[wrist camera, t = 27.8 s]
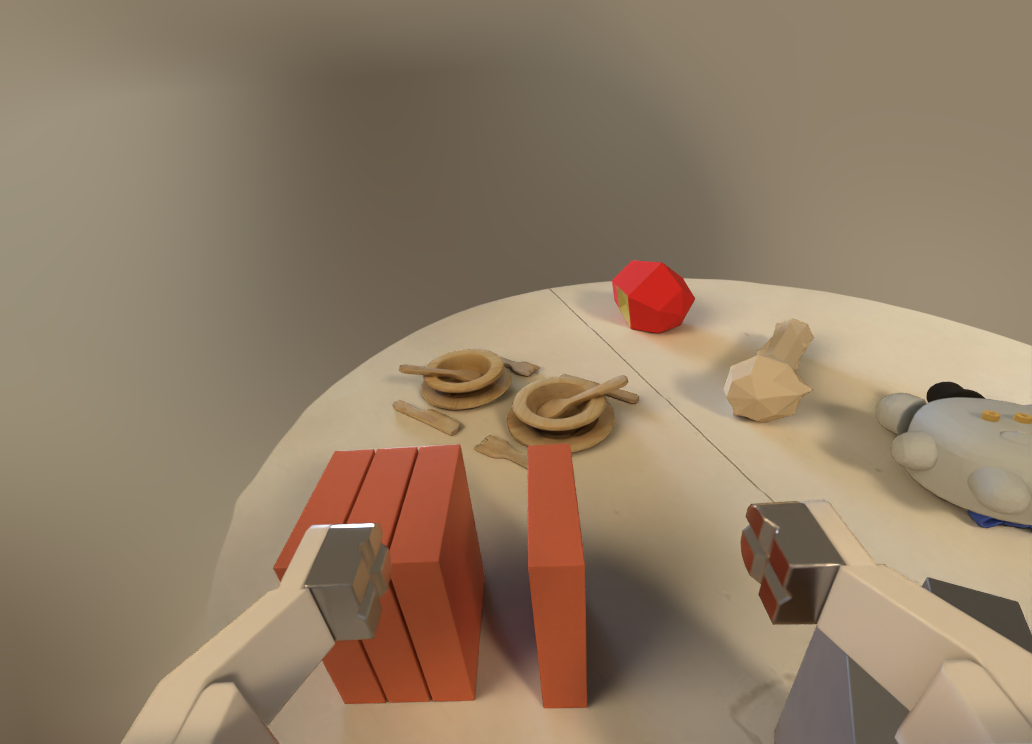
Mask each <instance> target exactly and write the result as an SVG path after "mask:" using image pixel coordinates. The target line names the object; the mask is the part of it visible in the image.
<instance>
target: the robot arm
mask: <svg viewBox="0 0 1032 744" xmlns="http://www.w3.org/2000/svg"><path fill="white" fill-rule="evenodd" d="M746 518H747V520H748V522H749V524H750V525H749V526H747V527H746V528H745V529H744V530H743V531H742V536H741V552H742V557H743V560H744V564H745V566H746V568H747V571H748V573H749V575H750V576H751V577H752V578H754V579H755V580H756V581H758V582H759V583H760V584H761V587H760V591H759V597H760V599H761V601H762V603H763V605H764V607H765V609H766V611H767V613H768V615H769V618H770V620H771V622H772V624H773V625H777V624H817V625H816V627H817V628H818V629H819V630H821V631H822V632H823V633H824V634H825V635H826V636H827V637H828V638H829V639H831V640H832V641H833V642H834V643H835V644H836V645H837V646H838V647H839V648H841V649H842V650H843V651H844V652H845V653H846V654H847V655H848V656H849V657H851V658H852V659H853V660H854V661H855V662H856V663H857V664H858V665H859V666H860V667H862V668H863V669H864V670H865V671H866V672H867V673H868V674H869V675H870V676H872V677H873V678H874V679H875V680H876V681H877V682H878V683H879V684H880V685H882V686H883V687H884V688H885V689H886V690H887V691H888V692H889V693H890V694H891V695H893V696H894V697H895V698H896V699H897V700H898V701H899V702H900V703H901V704H903V705H904V706H905V707H906V708H907V709H908V710H909V711H910V712H909V714H908V715H907V717H906V718H905V720H904V721H903V723H902V724H901V726H900V727H899V729H898V731H897V733H896V735H895V739H896V740H897V742H898V744H1032V653H1030V652H1028V651H1027V650H1025V649H1023V648H1022V647H1020V646H1018V645H1017V644H1015V643H1014V642H1012V641H1010V640H1009V639H1007V638H1005V637H1004V636H1002V635H1000V634H999V633H997V632H995V631H994V630H992V629H990V628H989V627H987V626H985V625H984V624H982V623H980V622H979V621H977V620H976V619H974V618H972V617H971V616H969V615H967V614H966V613H964V612H962V611H961V610H959V609H957V608H956V607H954V606H952V605H951V604H949V603H947V602H946V601H944V600H943V599H941V598H939V597H938V596H936V595H934V594H933V593H931V592H929V591H928V590H926V589H924V588H923V587H921V586H919V585H918V584H916V583H914V582H913V581H911V580H909V579H908V578H906V577H905V576H903V575H901V574H900V573H898V572H896V571H895V570H893V569H891V568H890V567H888V566H886V565H885V564H876V563H875V562H874V561H873V559H872V558H871V557H870V555H869V554H868V553H867V551H866V550H865V549H864V547H863V546H862V545H861V543H860V542H859V541H858V539H857V538H856V537H855V535H854V534H853V533H852V531H851V530H850V529H849V528H848V526H847V525H846V524H845V522H844V521H843V520H842V518H841V517H840V516H839V514H838V513H837V512H836V510H835V509H834V508H833V506H832V505H831V504H830V503H829V502H827V501H826V500H811V501H799V502H798V501H790V502H773V503H757V504H751V505H750V506H749V507H748V509H747V513H746ZM383 534H384V533H383V531H382V528H381V526H380V524H378V523H358V524H329V525H312V526H311V527H310V528H309V529H307V531H306V532H305V534H304V536H303V538H302V540H301V542H300V544H299V546H298V548H297V550H296V552H295V554H294V556H293V558H292V560H291V562H290V564H289V566H288V568H287V570H286V572H285V574H284V576H283V578H282V580H281V582H280V584H279V586H278V588H277V589H276V590H269V591H268V592H267V593H266V594H265V595H263V596H262V597H261V598H260V599H259V600H257V601H256V602H255V603H254V604H253V605H251V606H250V607H249V608H248V609H247V610H245V611H244V612H243V613H242V614H241V615H239V616H238V617H237V618H236V619H234V620H233V621H232V622H231V623H230V624H228V625H227V626H226V627H225V628H224V629H222V630H221V631H220V632H219V633H218V634H216V635H215V636H214V637H213V638H212V639H210V640H209V641H208V642H207V643H206V644H204V645H203V646H202V647H201V648H200V649H199V650H197V651H196V652H195V653H194V654H192V655H191V656H190V657H189V658H187V659H186V660H185V661H184V662H183V663H181V664H180V665H179V666H178V667H177V668H175V670H173V671H172V672H171V673H169V674H168V675H167V676H166V677H165V678H164V679H162V680H161V681H160V682H159V683H158V685H157V686H156V688H155V689H154V691H153V693H152V694H151V696H150V697H149V699H148V701H147V702H146V704H145V705H144V707H143V709H142V710H141V712H140V713H139V715H138V717H137V718H136V720H135V722H134V723H133V725H132V726H131V728H130V729H129V731H128V733H127V734H126V736H125V737H124V739H123V741H122V742H121V744H279V742H278V741H277V740H276V738H275V737H274V736H273V734H272V733H271V732H270V730H269V729H268V728H267V726H268V725H269V723H270V722H271V721H272V720H273V718H274V717H275V716H276V715H277V714H278V712H279V711H280V710H281V709H282V708H283V706H284V705H285V704H286V703H287V702H288V700H289V699H290V698H291V697H292V696H293V694H294V693H295V692H296V691H297V689H298V688H299V687H300V686H301V685H302V683H303V682H304V681H305V680H306V679H307V677H308V676H309V675H310V674H311V673H312V671H313V670H314V669H315V668H316V667H317V665H318V664H319V663H320V662H321V660H322V659H323V658H324V657H325V656H326V654H327V653H328V652H329V651H330V650H331V648H332V647H333V646H334V645H335V641H346V640H362V639H374V637H375V633H376V630H377V626H378V623H379V619H380V615H381V612H382V607H381V604H380V602H379V598H380V597H381V596H382V595H383V594H384V593H385V592H386V591H387V590H388V586H389V582H390V578H391V566H392V564H391V555H390V552H389V548H388V547H387V546H386V545H384V544H383V543H381V541H382V538H383Z"/></svg>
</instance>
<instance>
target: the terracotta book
mask: <svg viewBox="0 0 1032 744" xmlns="http://www.w3.org/2000/svg"><path fill="white" fill-rule="evenodd" d="M528 571H529V580H530V589H531V598H532V607H533V616H534V625H535V634H536V644H537V653H538V662H539V671H540V680H541V689H542V698H543V707H544V708H582V707H587V658H586V596H585V561H584V552H583V544H582V536H581V528H580V520H579V512H578V504H577V496H576V488H575V480H574V472H573V464H572V456H571V448H570V444H569V443H568V444H549V445H531V446H528Z"/></svg>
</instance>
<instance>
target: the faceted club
mask: <svg viewBox="0 0 1032 744" xmlns="http://www.w3.org/2000/svg"><path fill="white" fill-rule="evenodd" d="M813 338H814V337H813V335H812V333H811V330H810V328H809V326H808V324H806V323H804V322H801V321H798V320H796V319H793V318H792V319H789V320H787V321H784V322H782V323H778V324H776V326H775V331H774V334H773V337H772V338H771V339H770V340H769V341H768V342H767V343H766V344H765V345H764V346H763V348H761V349H760V350H758V351H757V353H758V355H757V356H755V357H752V358H750V359H747V360H745V361H742V362H740V363H737V364H735V365H732V366H731V368H730V371H729V374H728V377H727V380H726V383H725V386H724V392H725V394H726V397H727V399H728V400H729V402H730V404H731V405H732V407H733V410H734V415H742V416H745V417H748V418H750V419H753V420H756V421H761V422H769V421H772V420H776V419H779V418H783V417H786V416H790V415H793V414H794V413H795V410H796V408H797V406H798V404H799V401H800V399H801V398H802V397H803V396H805V395H806V394H807V393H809V392H810V391H812V390H813V389H812V388H811V387H809V386H808V385H807V384H806V383H805V382H804V381H803V380H801V379H800V378H799V377H798V375H797V373H796V371H795V370H798V366H799V361H800V357H801V355H802V354H803V353H804V352H805V351H806V349H807V348H808V346H809V344H810V343H811V341H812V339H813Z"/></svg>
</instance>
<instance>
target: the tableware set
mask: <svg viewBox="0 0 1032 744" xmlns="http://www.w3.org/2000/svg"><path fill="white" fill-rule="evenodd" d="M504 366H507V367H510V368H511V369H512V371H513V372H515V373H517V374H521V375H524V376H529V375H531V373H534V372H535V370H538V369H539V366H537V365H534V364H531V363H527V362H514V361H511V360H508V359H506V358H503V357H500V356H498V355H497V354H495V353H493V352H491V351H487V350H482V349H463V350H458V351H453V352H449V353H446V354H443V355H441V356H439V357H437V358H435V359H434V360H432V361H431V362H430V363H429V364H428V365H427V366H426V367H421V366H414V365H400V367H399V371H400V372H401V373H405V374H416V375H423V377H424V380H423V382H422V384H421V394H422V396H423V398H424V399H425V400H426V401H427V402H428V403H430V404H432V405H434V406H436V407H439V408H443V409H453V410H461V409H469V408H474V407H478V406H481V405H484V404H487V403H489V402H492V401H493V400H495V399H497V398H498V397H500V396H501V395H502V394H503V393H505V392H506V390H507V389H508V388H509V386H510V383H511V376H510V373H509V371H508V370H507V369H506V367H504ZM627 383H628V379H627V377H626V376H624V375H621V376H618V377H615V378H613V379H611V380H608V381H606V382H604V383H602V384H599V383H595V382H592V381H588V380H585V379H581V378H578V377H574V376H571V375H567V374H562V375H561V376H560V377H550V378H545V379H540V380H537V381H535V382H532V383H530V384H528V385H526V386H525V387H524V388H522V389H521V390H520V391H519V392H518V393H517V395H516V396H515V398H514V401H513V407H512V408H511V410H510V412H509V414H508V418H507V424H508V429H509V431H510V433H511V435H512V436H513V437H514V439H515V440H517V441H518V442H519V443H521V444H522V445H524V446H526V447H528V446H531V445H549V444H568V443H569V444H570V448H571V453H572V452H577V451H581V450H585V449H588V448H590V447H592V446H594V445H596V444H598V443H600V442H601V441H602V440H604V439H605V438H606V437H607V436H608V435H609V433H610V432H611V430H612V428H613V426H614V419H615V418H614V412H613V409H612V407H611V406H610V404H609V403H608V402H607V401H606V398H605V395H604V394H606V395H609V396H612V397H614V398H617V399H620V400H623V401H626V402H629V403H637V402H638V401H639V396H638V395H637V394H634V393H631V392H627V391H624V390H620V389H619V388H622V387H624V386H625V385H627ZM393 406H394V408H395V409H396V410H398V411H400V412H402V413H404V414H407V415H409V416H411V417H413V418H416V419H418V420H420V421H422V422H424V423H426V424H428V425H431V426H433V427H435V428H437V429H439V430H441V431H443V432H445V433H447V434H449V435H451V436H452V435H454V434H455V433H457V432H458V431H459V428H460V425H459V422H458V421H456V420H454V419H452V418H450V417H448V416H446V415H443V414H441V413H439V412H437V411H435V410H424V411H421V410H418V409H417V408H415V407H413V406H411V405H409V404H408V403H406V402H404V401H395V402H394V403H393ZM486 440H487V441H484V440H483V441H482V442H481V445H477V446H476V447H475V450H476V451H478V452H481V453H483V454H485V455H487V456H489V457H493V458H507V459H510V460H511V461H513V462H515V463H517V464H519V465H521V466H523V467H525V468H527V469H528V455H526V454H523V453H521V452H518V451H516V450H514V449H512V448H511V447H510V445H509V443H508V442H507V441H505V440H502V439H500V438H497V437H495V436H492V435H489V436H488V437H487V438H486Z"/></svg>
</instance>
